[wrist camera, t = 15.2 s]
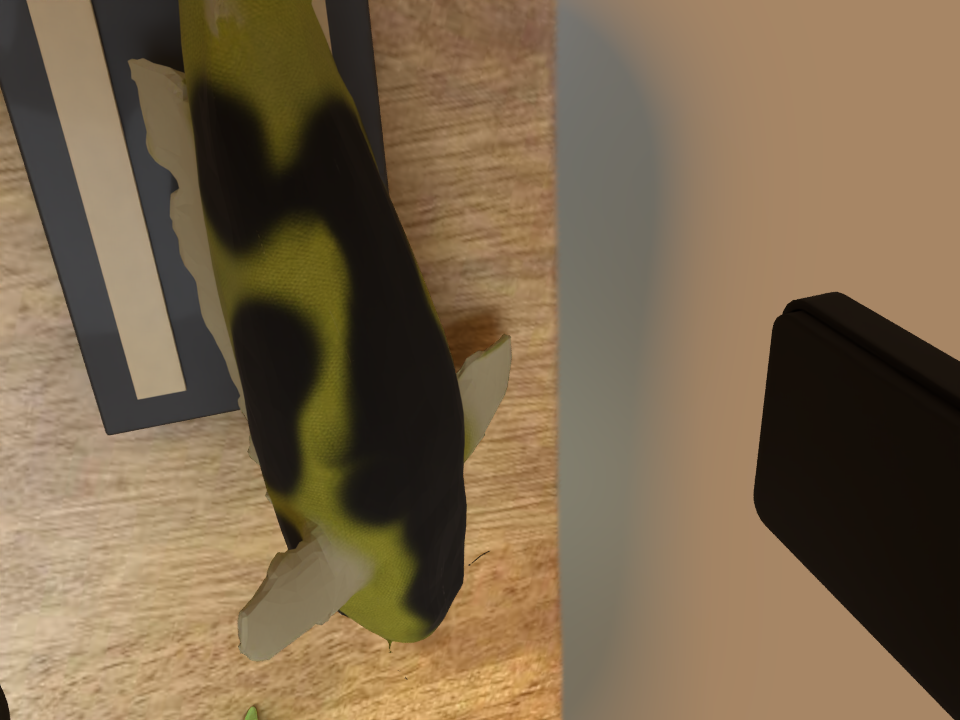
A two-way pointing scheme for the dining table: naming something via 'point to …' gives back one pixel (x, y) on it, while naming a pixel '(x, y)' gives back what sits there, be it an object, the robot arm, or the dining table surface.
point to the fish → (318, 324)
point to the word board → (131, 192)
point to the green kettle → (251, 714)
